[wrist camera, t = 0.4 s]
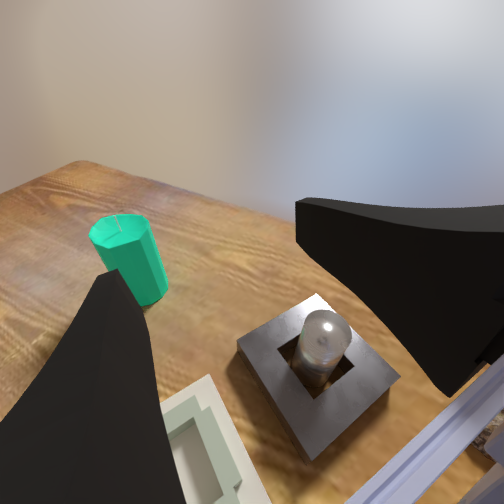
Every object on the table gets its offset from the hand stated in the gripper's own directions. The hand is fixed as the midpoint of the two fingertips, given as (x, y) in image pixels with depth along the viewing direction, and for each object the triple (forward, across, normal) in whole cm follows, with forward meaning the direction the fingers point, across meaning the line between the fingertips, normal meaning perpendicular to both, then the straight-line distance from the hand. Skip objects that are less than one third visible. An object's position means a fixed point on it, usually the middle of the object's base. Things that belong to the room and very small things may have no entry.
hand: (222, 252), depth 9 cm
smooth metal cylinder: (+3, -7, +21) cm, 22 cm away
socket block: (+3, -7, +21) cm, 22 cm away
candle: (+22, +6, +17) cm, 28 cm away
